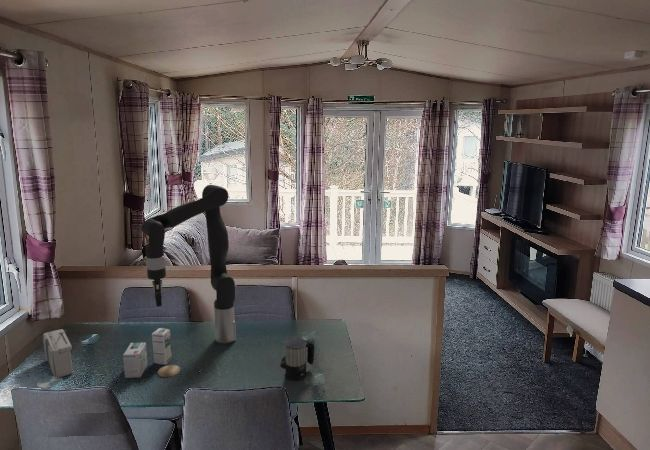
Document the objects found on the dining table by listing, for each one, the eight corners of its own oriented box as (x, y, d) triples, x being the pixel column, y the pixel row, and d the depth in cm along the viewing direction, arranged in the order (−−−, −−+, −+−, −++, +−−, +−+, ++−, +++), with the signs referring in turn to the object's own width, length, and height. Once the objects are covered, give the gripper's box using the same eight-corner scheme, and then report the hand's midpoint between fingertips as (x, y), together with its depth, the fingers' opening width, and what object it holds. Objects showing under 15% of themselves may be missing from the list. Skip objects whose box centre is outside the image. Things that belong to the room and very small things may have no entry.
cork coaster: (179, 364, 211) (179, 363, 211) (180, 375, 203) (180, 374, 203) (157, 368, 208) (157, 367, 208) (158, 378, 200) (158, 377, 200)
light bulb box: (132, 364, 211) (130, 342, 208) (148, 364, 211) (146, 341, 209) (124, 378, 200) (122, 354, 198) (141, 377, 201) (139, 354, 199)
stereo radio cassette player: (45, 360, 214) (39, 318, 209) (66, 354, 219) (60, 313, 214) (53, 381, 198) (47, 336, 193) (75, 374, 203) (70, 330, 198)
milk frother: (298, 383, 198) (298, 350, 194) (267, 372, 206) (267, 340, 202) (317, 368, 209) (317, 336, 206) (287, 358, 218) (287, 327, 214)
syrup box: (166, 365, 211) (163, 334, 207) (153, 363, 212) (151, 333, 209) (172, 358, 216) (170, 328, 213) (160, 357, 217) (158, 327, 214)
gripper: (165, 270, 199) (168, 307, 202) (164, 260, 212) (167, 295, 215) (146, 272, 196) (149, 309, 200) (146, 262, 209) (149, 297, 213)
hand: (158, 302), depth 208 cm, fingers open, 8 cm apart
